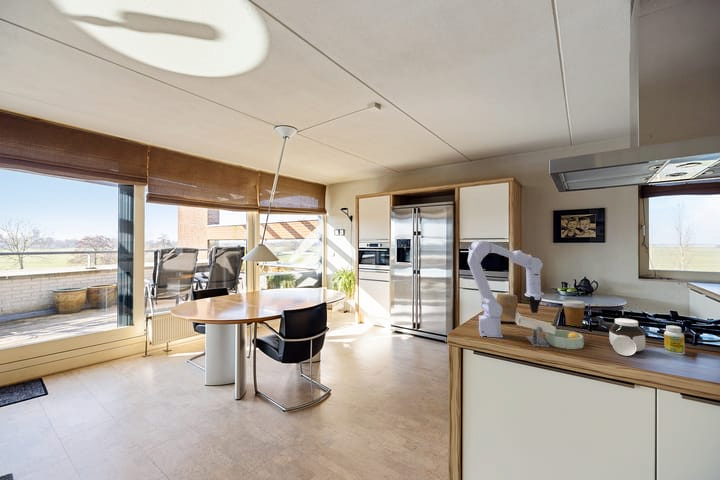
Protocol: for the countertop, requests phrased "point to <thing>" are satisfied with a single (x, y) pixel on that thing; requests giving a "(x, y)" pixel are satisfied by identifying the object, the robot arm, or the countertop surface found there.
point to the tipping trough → (534, 324)
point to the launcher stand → (537, 339)
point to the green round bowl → (564, 340)
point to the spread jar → (627, 337)
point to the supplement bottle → (674, 340)
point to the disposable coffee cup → (574, 312)
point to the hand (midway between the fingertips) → (534, 312)
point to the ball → (573, 335)
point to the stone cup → (507, 306)
